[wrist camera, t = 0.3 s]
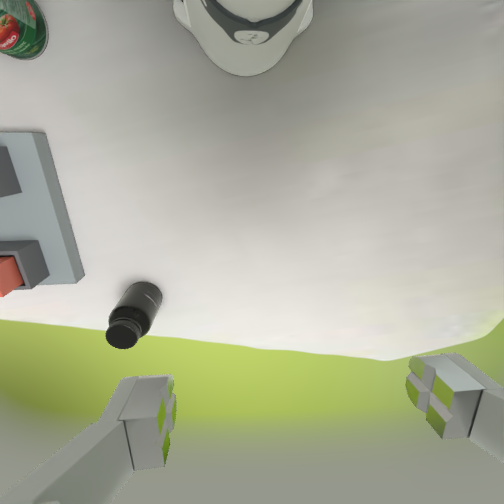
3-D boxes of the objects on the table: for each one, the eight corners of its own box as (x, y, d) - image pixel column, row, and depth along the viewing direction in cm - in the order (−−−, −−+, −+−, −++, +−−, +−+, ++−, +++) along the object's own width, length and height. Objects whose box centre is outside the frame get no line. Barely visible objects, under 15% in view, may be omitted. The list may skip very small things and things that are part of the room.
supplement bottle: (167, 287, 50) (150, 327, 39) (157, 314, 53) (138, 359, 42) (131, 276, 49) (103, 314, 38) (122, 304, 51) (93, 348, 40)
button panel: (-58, 132, 37) (-123, 130, 30) (45, 133, 39) (5, 130, 32) (3, 278, 47) (-36, 302, 40) (84, 275, 48) (60, 297, 41)
